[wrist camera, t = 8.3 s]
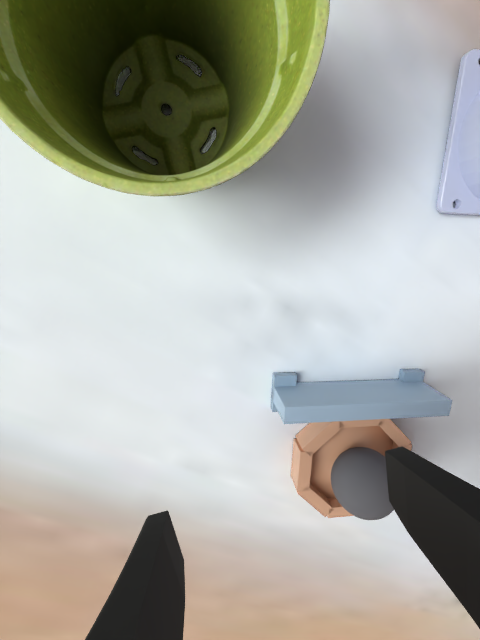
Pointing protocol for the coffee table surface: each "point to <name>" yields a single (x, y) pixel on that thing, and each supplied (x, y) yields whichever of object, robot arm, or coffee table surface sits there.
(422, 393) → the blue slab with nubs
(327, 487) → the bowl
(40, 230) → the coffee table surface
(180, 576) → the robot arm
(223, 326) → the coffee table surface
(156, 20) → the plant pot
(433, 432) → the coffee table surface
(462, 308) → the coffee table surface
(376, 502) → the ball
